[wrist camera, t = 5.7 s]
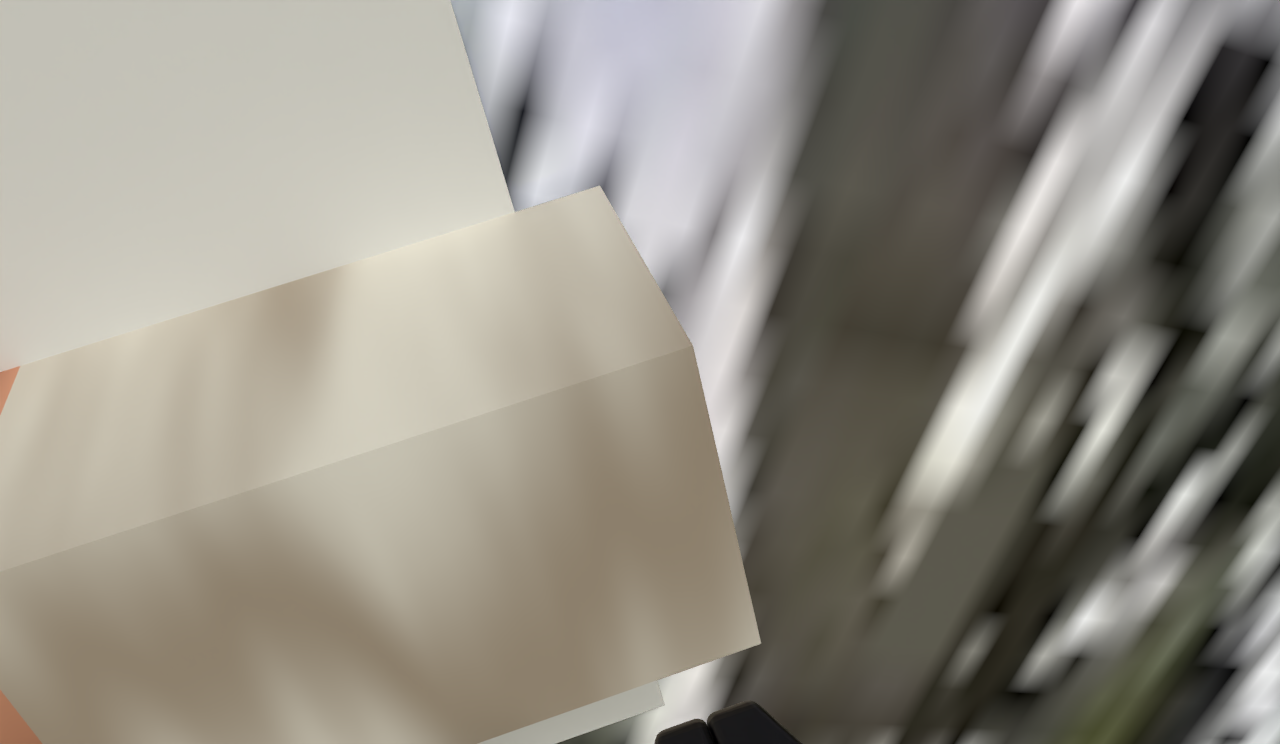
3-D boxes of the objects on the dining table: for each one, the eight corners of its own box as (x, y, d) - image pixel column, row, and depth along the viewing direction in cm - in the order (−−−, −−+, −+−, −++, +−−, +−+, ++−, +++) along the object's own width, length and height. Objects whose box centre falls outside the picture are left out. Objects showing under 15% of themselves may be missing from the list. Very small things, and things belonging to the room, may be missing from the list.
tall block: (761, 643, 13) (41, 897, 12) (666, 444, 16) (96, 634, 15) (692, 345, 11) (-190, 634, 10) (600, 185, 14) (-67, 393, 13)
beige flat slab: (660, 691, 19) (664, 705, 19) (-11, 926, 18) (-16, 944, 18) (372, -252, 11) (373, -251, 11) (-820, 66, 10) (-847, 76, 10)
